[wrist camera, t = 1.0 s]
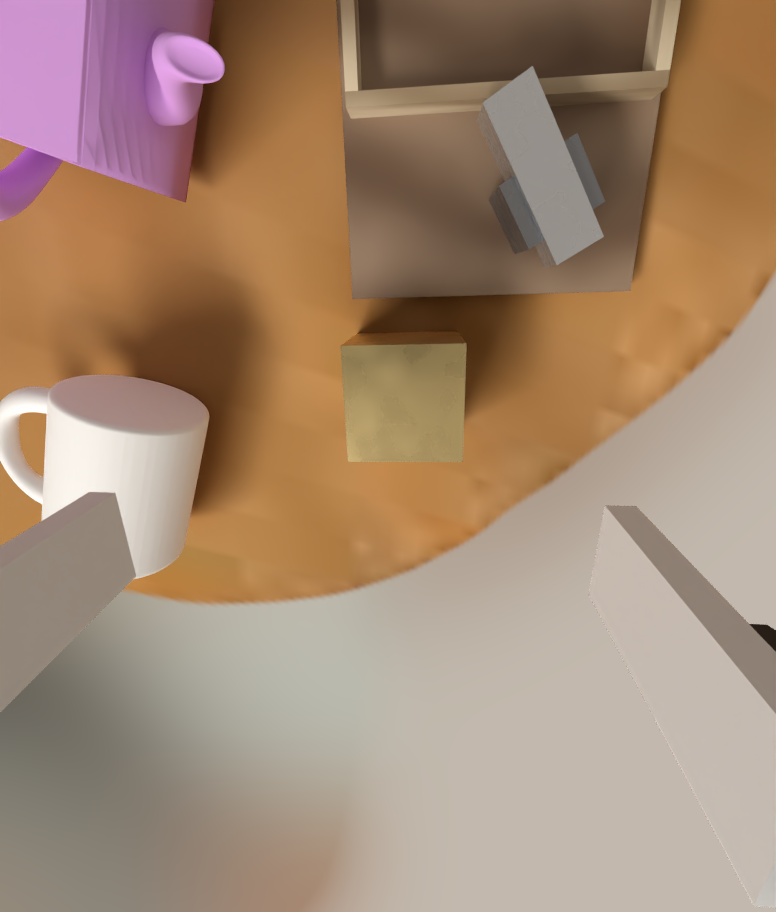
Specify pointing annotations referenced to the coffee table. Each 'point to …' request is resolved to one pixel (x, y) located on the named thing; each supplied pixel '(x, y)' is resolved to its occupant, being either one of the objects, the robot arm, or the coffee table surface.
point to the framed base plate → (464, 147)
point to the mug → (115, 455)
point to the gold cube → (404, 396)
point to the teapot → (102, 91)
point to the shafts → (539, 174)
